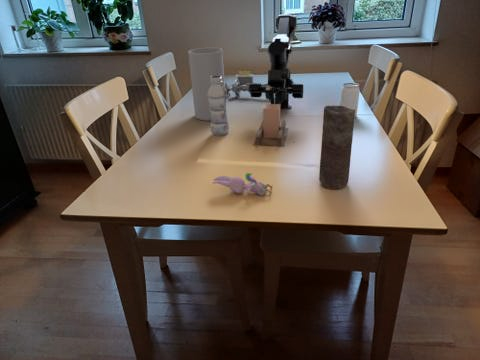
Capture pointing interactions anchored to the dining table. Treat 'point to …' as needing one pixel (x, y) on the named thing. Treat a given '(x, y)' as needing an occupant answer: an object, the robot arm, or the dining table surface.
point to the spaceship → (239, 88)
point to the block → (271, 120)
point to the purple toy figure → (243, 184)
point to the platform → (245, 77)
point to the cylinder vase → (204, 77)
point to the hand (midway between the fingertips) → (274, 112)
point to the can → (350, 96)
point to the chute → (272, 141)
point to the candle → (336, 146)
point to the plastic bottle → (218, 107)
